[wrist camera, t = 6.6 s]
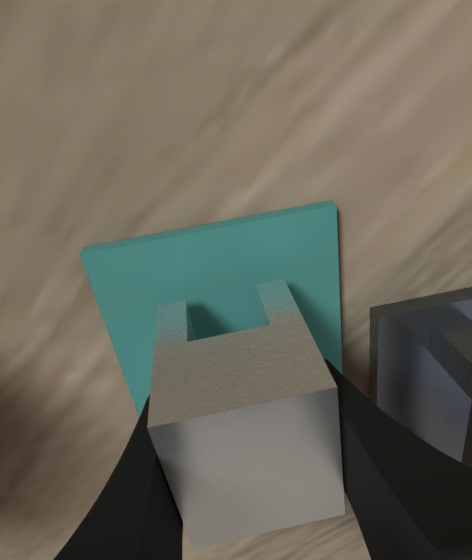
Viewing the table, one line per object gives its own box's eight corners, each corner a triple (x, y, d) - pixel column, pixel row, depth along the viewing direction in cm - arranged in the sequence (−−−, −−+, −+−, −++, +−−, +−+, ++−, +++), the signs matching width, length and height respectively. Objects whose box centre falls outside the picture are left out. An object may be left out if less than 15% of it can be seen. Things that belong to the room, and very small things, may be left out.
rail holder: (469, 475, 24) (541, 575, 19) (369, 498, 24) (416, 604, 19) (505, 280, 18) (623, 357, 13) (370, 307, 17) (441, 396, 13)
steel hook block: (297, 385, 17) (345, 514, 12) (188, 408, 17) (193, 549, 12) (283, 279, 14) (337, 386, 10) (157, 305, 14) (147, 427, 9)
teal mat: (338, 385, 19) (343, 395, 19) (147, 426, 19) (146, 436, 18) (330, 200, 15) (336, 205, 14) (83, 247, 15) (80, 254, 14)
